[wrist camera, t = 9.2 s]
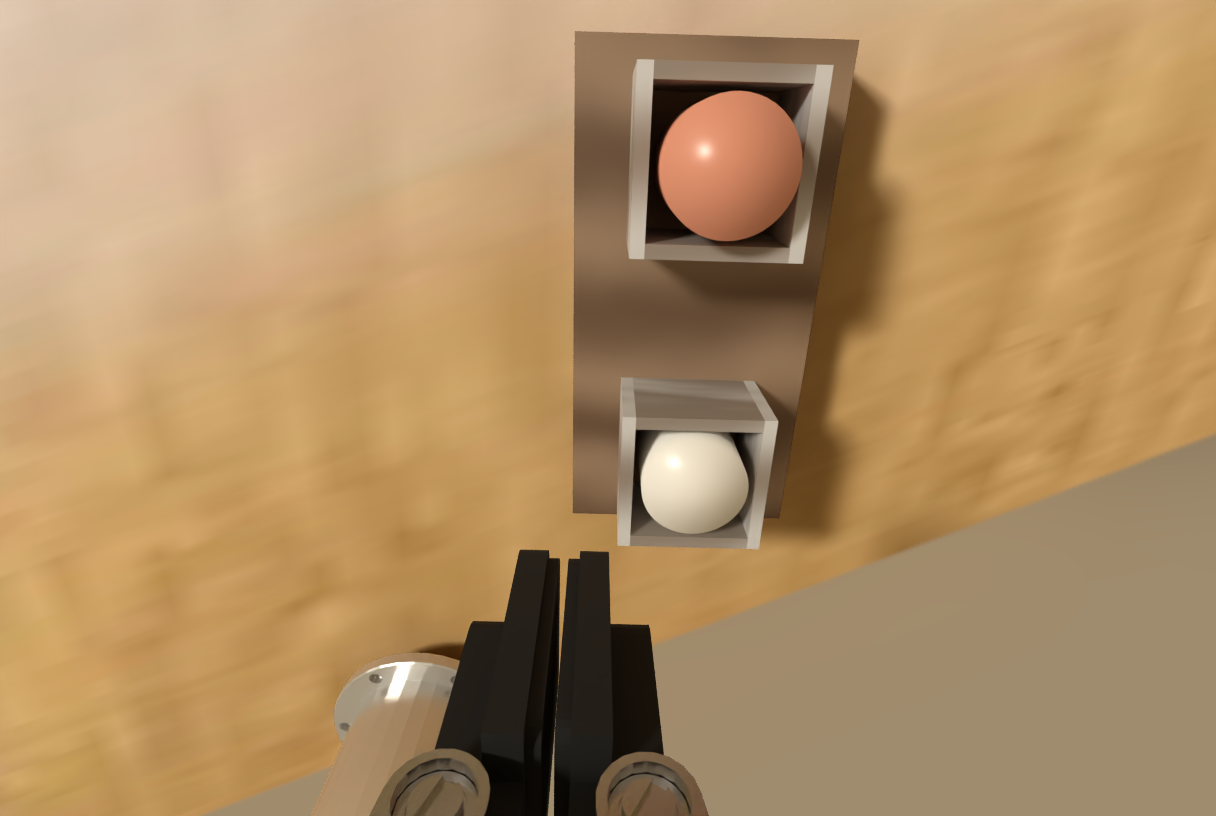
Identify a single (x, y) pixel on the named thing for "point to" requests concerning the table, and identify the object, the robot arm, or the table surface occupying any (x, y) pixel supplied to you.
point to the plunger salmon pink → (729, 165)
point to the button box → (692, 271)
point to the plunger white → (691, 479)
